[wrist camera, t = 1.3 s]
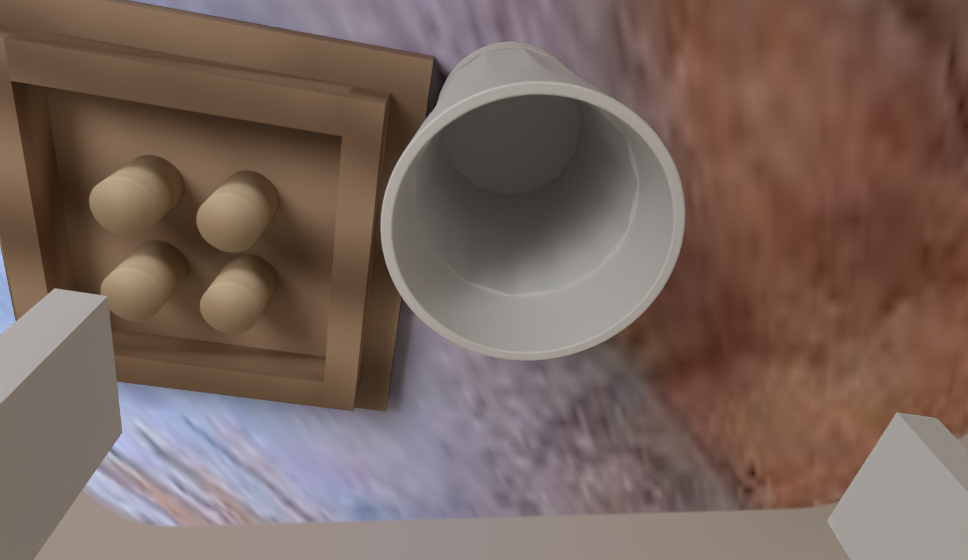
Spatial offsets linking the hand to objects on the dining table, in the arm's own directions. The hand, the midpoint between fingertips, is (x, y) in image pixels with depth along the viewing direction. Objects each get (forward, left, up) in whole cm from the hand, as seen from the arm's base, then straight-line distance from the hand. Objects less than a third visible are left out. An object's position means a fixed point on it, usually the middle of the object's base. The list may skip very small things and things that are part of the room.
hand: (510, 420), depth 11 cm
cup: (0, +1, -19) cm, 19 cm away
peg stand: (+7, -12, -19) cm, 23 cm away
